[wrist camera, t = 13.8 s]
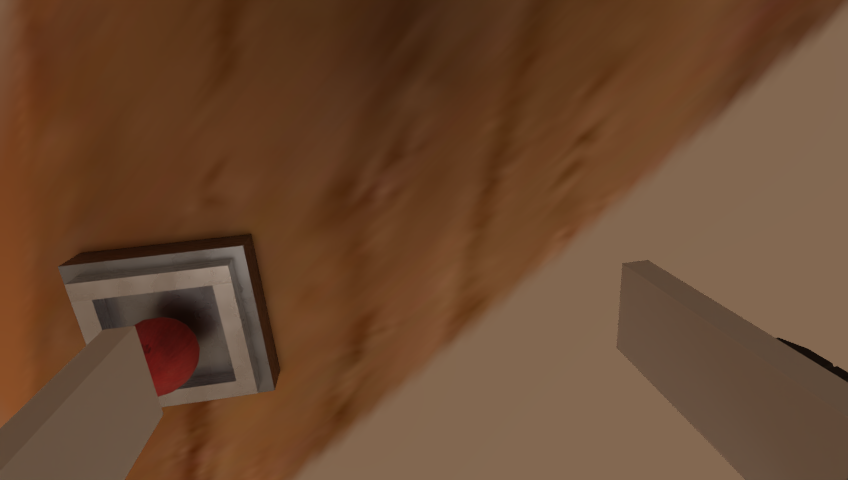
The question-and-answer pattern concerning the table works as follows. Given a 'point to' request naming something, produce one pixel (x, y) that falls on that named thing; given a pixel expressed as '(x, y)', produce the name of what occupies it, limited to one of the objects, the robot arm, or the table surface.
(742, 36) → the table surface
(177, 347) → the onion
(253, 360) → the silver shallow square tray
